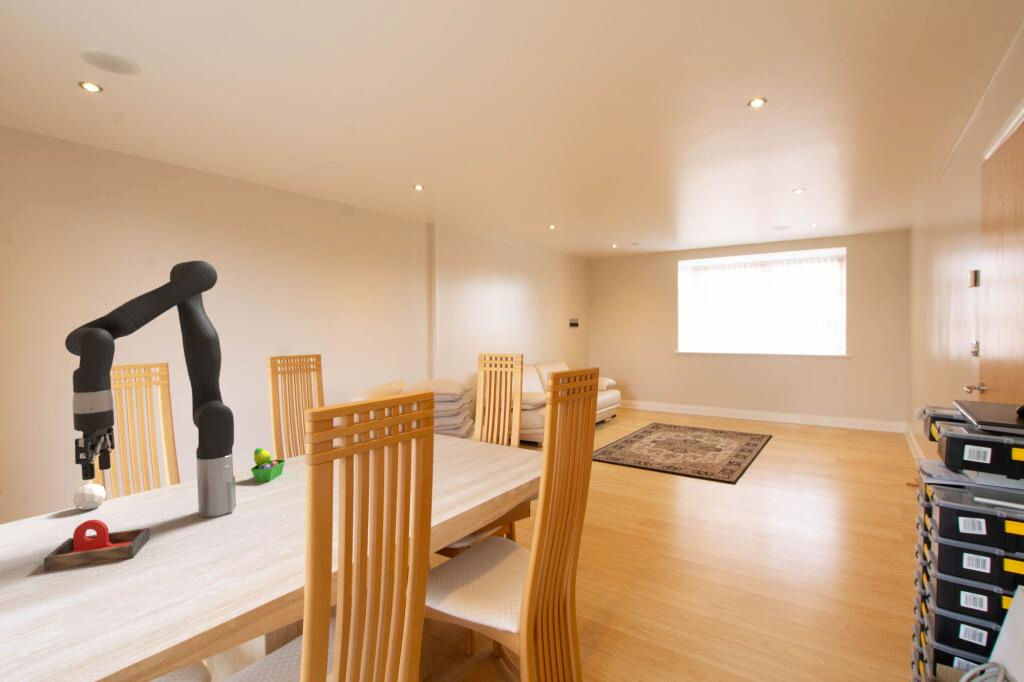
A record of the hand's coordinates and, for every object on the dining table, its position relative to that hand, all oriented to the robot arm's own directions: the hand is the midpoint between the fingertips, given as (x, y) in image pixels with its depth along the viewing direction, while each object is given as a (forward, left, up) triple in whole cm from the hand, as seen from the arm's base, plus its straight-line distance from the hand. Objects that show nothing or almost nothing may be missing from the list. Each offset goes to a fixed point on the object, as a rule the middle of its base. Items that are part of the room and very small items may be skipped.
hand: (97, 474), depth 118 cm
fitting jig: (0, 0, -20) cm, 20 cm away
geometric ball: (+17, -38, -20) cm, 46 cm away
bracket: (0, +1, -20) cm, 20 cm away
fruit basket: (-31, -50, -20) cm, 62 cm away
